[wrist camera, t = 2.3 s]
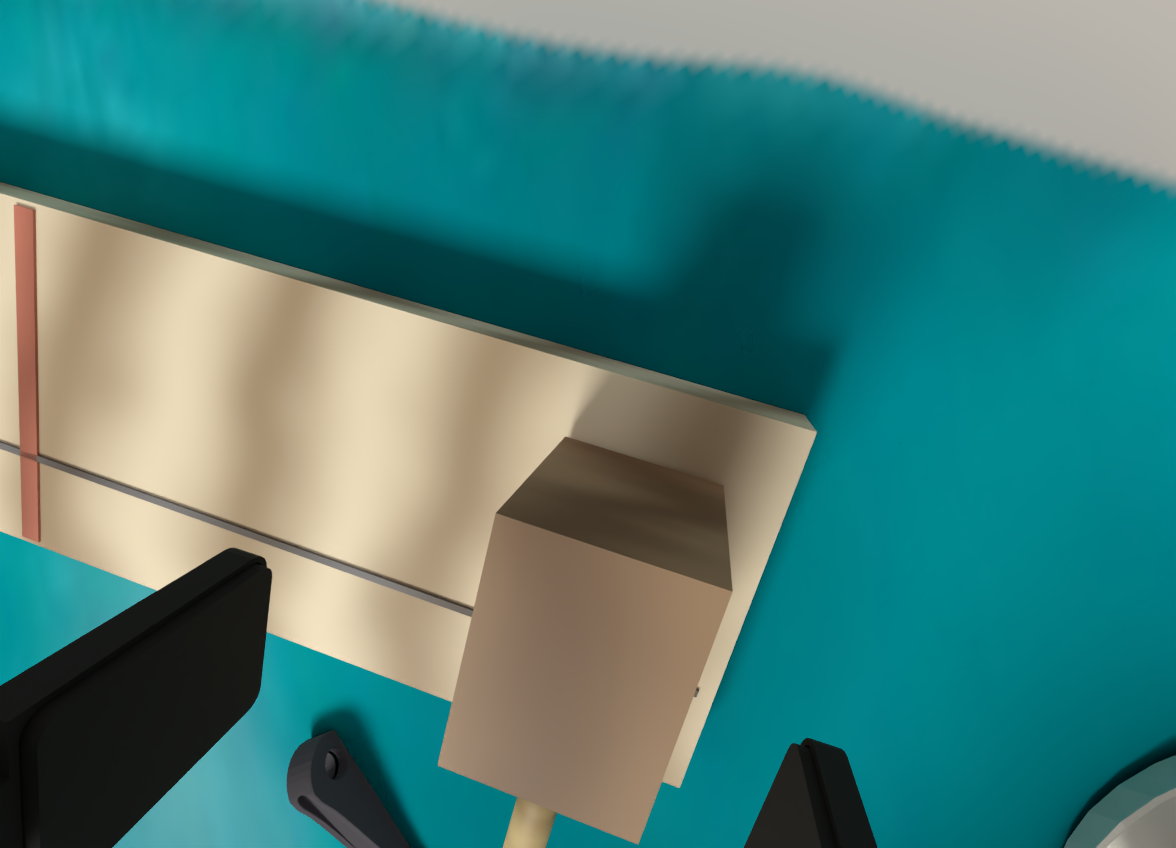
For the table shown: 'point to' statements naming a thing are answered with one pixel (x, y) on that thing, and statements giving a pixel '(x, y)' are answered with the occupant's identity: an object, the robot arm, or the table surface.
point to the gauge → (589, 639)
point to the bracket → (339, 795)
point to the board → (324, 436)
